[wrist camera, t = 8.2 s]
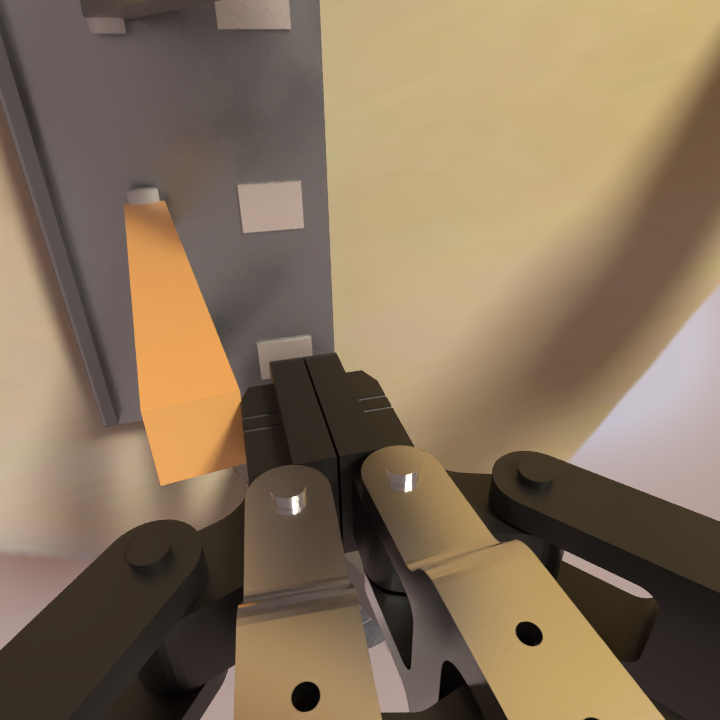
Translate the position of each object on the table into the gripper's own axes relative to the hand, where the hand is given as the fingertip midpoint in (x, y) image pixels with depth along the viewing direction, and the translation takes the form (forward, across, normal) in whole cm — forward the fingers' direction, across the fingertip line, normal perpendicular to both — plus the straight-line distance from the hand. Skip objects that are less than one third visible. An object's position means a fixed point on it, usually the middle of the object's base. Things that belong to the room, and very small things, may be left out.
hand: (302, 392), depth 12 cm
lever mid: (+17, +5, 0) cm, 18 cm away
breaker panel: (+21, +3, 0) cm, 21 cm away
